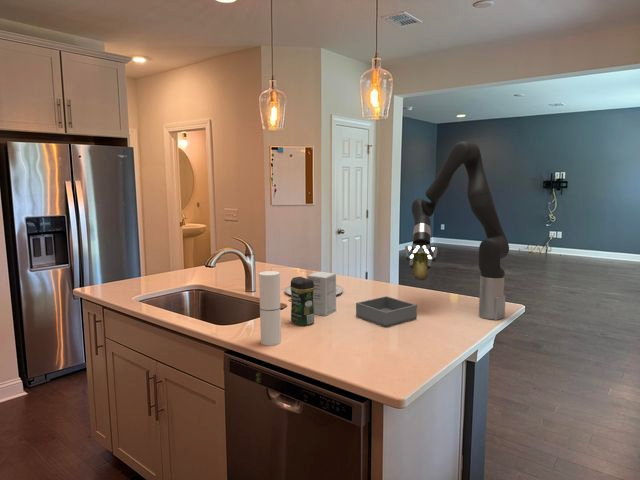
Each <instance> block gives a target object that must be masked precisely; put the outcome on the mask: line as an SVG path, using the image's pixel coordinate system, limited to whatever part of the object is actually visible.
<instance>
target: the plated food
mask: <svg viewBox="0 0 640 480" xmlns="http://www.w3.org/2000/svg"><path fill="white" fill-rule="evenodd" d="M290 286H291V285H288V286H287V287H285V288H284V293H286V294H287V295H290V296H292V295H291V287H290ZM343 292H344V288H343V287H342V286H341V285H338V284H336V296H337V295H340V294H342V293H343Z"/></svg>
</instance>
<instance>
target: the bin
mask: <svg viewBox="0 0 640 480" xmlns="http://www.w3.org/2000/svg"><path fill="white" fill-rule="evenodd" d="M417 309H418V305H417V304H415V303H412V302H407V301H404V300H400V299H397V298H394V297H390V296H387V295H385V296H380V297H376V298H372V299H368V300H363V301H359V302H358V301H357V302H356V303H355V317H356V318H358V319H361V320H364V321H366V322H369V323H372V324H374V325H378V326H380V327H382V328H385V329H387V328H390V327H393V326H397V325H401V324H404V323H407V322H408V323H409V322H412V321H415V320H417V317H418V315H417V314H418V310H417Z"/></svg>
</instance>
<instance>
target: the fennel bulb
mask: <svg viewBox="0 0 640 480" xmlns="http://www.w3.org/2000/svg"><path fill="white" fill-rule="evenodd" d="M412 253H413V252H412ZM413 255H414V260H413V268H412V274H413V275H412V276H414V279H415V280H417V281H426V280H427V279H428V276H429V269H428V259H427V256H428V253H425V254H424V252H422V256H421V252H418V256H417V255H416V252H414V253H413Z"/></svg>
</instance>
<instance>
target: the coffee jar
mask: <svg viewBox="0 0 640 480" xmlns="http://www.w3.org/2000/svg"><path fill="white" fill-rule="evenodd" d="M289 286H290V287H291V295H290V296H291V303H290V304H291V305H290V308H291V309H290V321H291V322H292V323H293V324H295V325H297V326H311V325H312V324H314V323H315V314H314V306H313V291H314V282H313V281H312V280H310V279H308V278H307V277H303V276H295V277H292V279H291V280H290V285H289Z"/></svg>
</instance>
